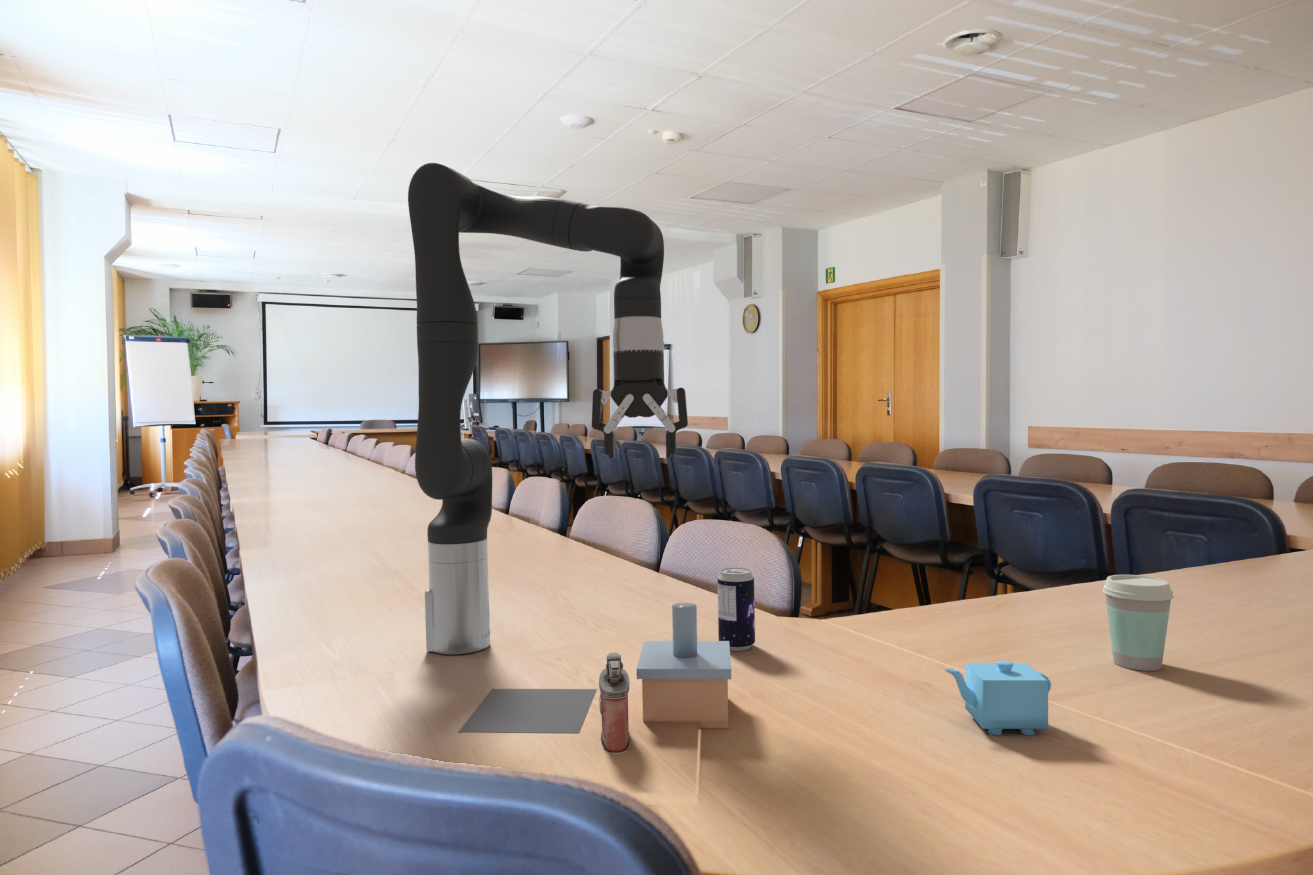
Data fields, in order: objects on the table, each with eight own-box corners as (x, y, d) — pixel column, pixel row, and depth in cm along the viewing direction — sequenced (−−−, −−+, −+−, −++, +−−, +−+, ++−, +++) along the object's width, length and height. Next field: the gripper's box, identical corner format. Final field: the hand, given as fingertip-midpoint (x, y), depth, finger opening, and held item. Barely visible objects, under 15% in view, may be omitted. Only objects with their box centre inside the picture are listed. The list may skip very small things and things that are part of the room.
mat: (458, 738, 91) (458, 731, 91) (492, 694, 105) (492, 688, 105) (579, 739, 90) (578, 732, 90) (596, 695, 104) (596, 689, 104)
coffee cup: (1163, 657, 114) (1163, 575, 114) (1181, 677, 106) (1181, 588, 106) (1096, 652, 117) (1096, 572, 116) (1109, 671, 109) (1109, 585, 108)
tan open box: (643, 727, 93) (641, 677, 92) (649, 696, 103) (648, 651, 102) (728, 728, 92) (727, 677, 92) (726, 697, 102) (726, 651, 102)
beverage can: (753, 653, 120) (752, 574, 119) (716, 651, 121) (715, 574, 121) (756, 642, 125) (755, 567, 125) (721, 640, 127) (719, 566, 126)
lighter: (600, 731, 92) (597, 646, 92) (628, 729, 92) (627, 645, 92) (601, 761, 84) (598, 669, 84) (632, 760, 84) (630, 667, 84)
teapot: (952, 736, 89) (951, 670, 88) (936, 715, 95) (936, 653, 95) (1062, 737, 88) (1062, 670, 88) (1039, 716, 94) (1039, 653, 94)
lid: (636, 678, 92) (635, 617, 92) (644, 650, 103) (643, 595, 103) (731, 679, 91) (730, 617, 91) (729, 650, 102) (728, 594, 102)
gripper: (587, 348, 114) (589, 460, 115) (685, 346, 113) (687, 459, 114) (594, 352, 122) (597, 457, 122) (687, 350, 121) (689, 455, 121)
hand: (640, 458), depth 118 cm, fingers open, 8 cm apart
